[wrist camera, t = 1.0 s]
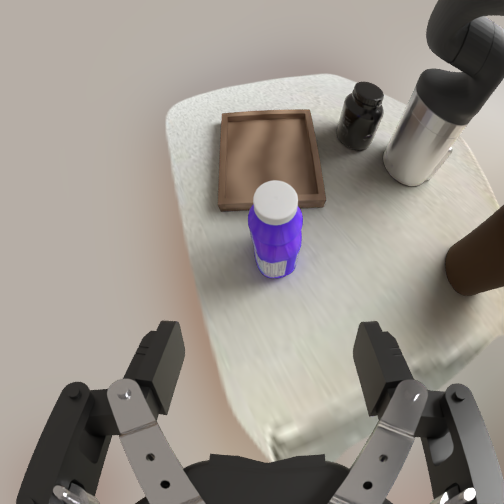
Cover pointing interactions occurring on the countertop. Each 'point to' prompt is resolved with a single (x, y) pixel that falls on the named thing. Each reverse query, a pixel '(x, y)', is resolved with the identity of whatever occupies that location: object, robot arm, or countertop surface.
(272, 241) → the bottle
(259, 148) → the walnut tray
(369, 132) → the supplement bottle
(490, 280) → the olive oil
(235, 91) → the countertop surface
